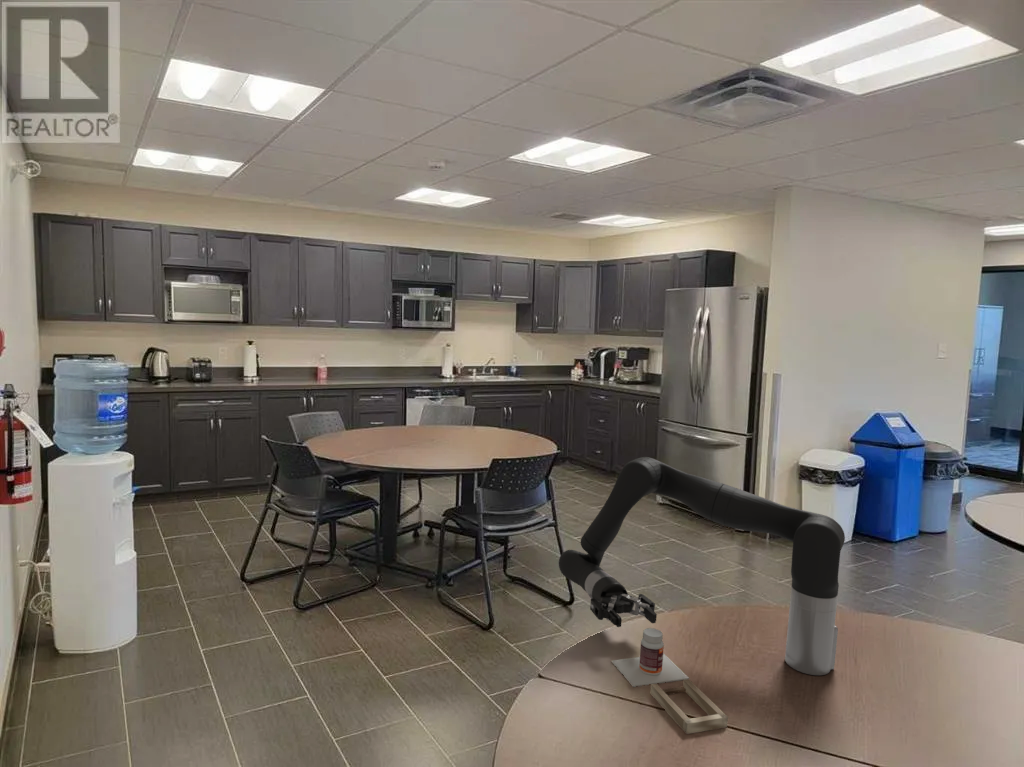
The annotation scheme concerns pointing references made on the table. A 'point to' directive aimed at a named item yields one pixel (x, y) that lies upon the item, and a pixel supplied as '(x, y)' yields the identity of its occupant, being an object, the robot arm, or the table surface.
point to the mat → (639, 678)
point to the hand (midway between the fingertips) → (637, 621)
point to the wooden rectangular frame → (700, 723)
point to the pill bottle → (651, 652)
